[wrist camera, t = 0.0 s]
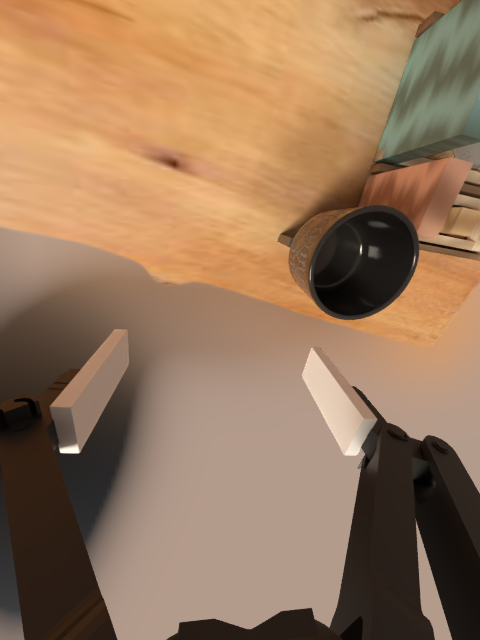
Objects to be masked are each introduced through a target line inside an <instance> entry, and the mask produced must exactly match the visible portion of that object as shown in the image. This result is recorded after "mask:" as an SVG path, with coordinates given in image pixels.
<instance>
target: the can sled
mask: <svg viewBox="0 0 480 640" xmlns="http://www.w3.org/2000/svg"><path fill="white" fill-rule="evenodd" d="M478 142H480V0H462V1H460V2H459V3H458V4H457V5H456V6H455V7H453V8H452V9H451V10H450V11H449V12H448V13H446V14H445V15H444V16H443V17H442V18H441V19H439V20H438V21H437V22H436V23H435V24H434V25H432V26H431V27H430V28H429V29H428V30H426V31H425V32H424V33H423V34H422V35H421V36H419V37H418V38H417V39H416V40H415V41H414V44H413V47H412V50H411V53H410V56H409V59H408V62H407V65H406V68H405V71H404V74H403V77H402V79H401V82H400V85H399V88H398V91H397V94H396V97H395V100H394V103H393V106H392V109H391V112H390V115H389V118H388V120H387V123H386V126H385V129H384V132H383V135H382V138H381V141H380V144H379V147H378V150H377V153H376V156H375V159H374V161H373V162H376V163H385V164H389V165H393V166H397V167H401V168H406V167H410V166H414V165H419V164H423V163H427V162H432V161H435V160H432V159H428V158H424V157H425V156H429V155H433V154H437V153H441V152H444V151H448V150H452V149H456V148H459V147H463V146H467V145H471V144H475V143H478ZM464 183H465V184H469V185H473V186H477V187H480V172H477V171H473V170H470V172H469V174H468V176H467V178H466V180H465V182H464Z"/></svg>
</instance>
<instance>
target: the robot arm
mask: <svg viewBox="0 0 480 640" xmlns="http://www.w3.org/2000/svg"><path fill="white" fill-rule="evenodd" d="M128 365H129V355H128V331H127V330H120V329H115V330H114V331H113V332H112V333H111V335H110V336H109V337H108V338H107V339H106V340H105V342H104V343H103V344H102V345H101V346H100V347H99V349H98V350H97V351H96V352H95V353H94V355H93V356H92V357H91V358H90V359H89V360H88V362H87V363H86V364H85V365H84V366H83V368H82V369H69V370H68V371H66V372H64V373H63V374H61V375H60V376H59V377H58V378H57V379H56V380H55V381H54V382H53V384H51V385H50V386H49V387H48V389H47V390H46V391H45V392H44V393H43V394H42V395H41V396H40V397H39V398H38V399H37V398H36V397H33V396H20V397H15V398H12V399H9V400H7V401H5V402H3V403H1V404H0V481H1V480H3V484H4V491H5V499H6V506H7V513H8V521H9V528H10V536H11V543H12V551H13V558H14V565H15V572H16V580H17V587H18V594H19V602H20V609H21V616H22V624H23V632H24V638H25V640H117V637H116V634H115V631H114V628H113V625H112V622H111V619H110V616H109V613H108V610H107V607H106V605H105V602H104V599H103V597H102V595H101V592H100V589H99V587H98V583H97V581H96V577H95V574H94V571H93V568H92V565H91V562H90V559H89V556H88V553H87V550H86V547H85V544H84V541H83V538H82V535H81V532H80V529H79V525H78V522H77V519H76V517H75V513H74V511H73V507H72V504H71V501H70V498H69V495H68V492H67V489H66V486H65V483H64V480H63V477H62V474H61V471H60V468H59V465H58V462H57V459H56V455H55V452H54V450H55V448H56V447H57V446H58V445H59V449H60V452H61V453H80V451H81V449H82V447H83V446H84V444H85V442H86V440H87V439H88V437H89V435H90V433H91V431H92V429H93V428H94V426H95V424H96V422H97V421H98V419H99V417H100V415H101V413H102V412H103V410H104V408H105V406H106V404H107V403H108V401H109V399H110V397H111V396H112V394H113V392H114V390H115V388H116V386H117V385H118V383H119V381H120V379H121V377H122V376H123V373H124V372H125V370H126V369H127V367H128ZM302 378H303V380H304V381H305V383H306V385H307V387H308V389H309V391H310V393H311V394H312V396H313V398H314V400H315V402H316V404H317V406H318V407H319V409H320V411H321V413H322V415H323V416H324V419H325V420H326V422H327V424H328V426H329V428H330V430H331V431H332V433H333V435H334V437H335V439H336V441H337V443H338V445H339V446H340V448H341V450H342V452H343V454H344V455H357V454H358V453H359V451H360V449H361V448H362V449H363V451H364V453H365V456H364V458H363V459H362V461H361V462H360V464H359V466H358V469H360V468H361V472H360V478H359V484H358V490H357V496H356V502H355V507H354V513H353V519H352V525H351V531H350V537H349V543H348V549H347V554H346V560H345V566H344V572H343V578H342V584H341V589H340V595H339V601H338V605H337V608H336V611H335V614H334V617H333V619H332V622H331V626H330V628H328V627H327V626H326V625H324V624H322V623H321V622H319V621H317V620H315V619H314V615H313V611H312V608H307V609H299V610H289V611H282V612H280V613H278V614H276V615H275V616H273V617H271V618H270V619H268V620H266V621H265V622H263V623H262V624H260V625H258V626H256V627H255V628H253V629H244V628H241V627H238V626H235V625H232V624H229V623H226V622H223V621H220V620H216V619H208V620H198V621H189V622H181V623H179V629H178V633H177V634H175V635H173V636H171V637H169V638H168V639H167V640H435V638H434V632H433V628H432V625H431V623H430V621H429V620H428V619H427V618H426V617H425V616H424V615H423V613H422V610H421V602H420V585H419V568H418V552H417V535H416V521H417V525H418V528H419V531H420V534H421V538H422V541H423V544H424V548H425V551H426V554H427V558H428V560H429V564H430V567H431V570H432V574H433V577H434V581H435V584H436V587H437V590H438V594H439V597H440V600H441V604H442V607H443V610H444V614H445V617H446V620H447V623H448V627H449V630H450V633H451V637H452V640H480V493H479V492H478V490H477V488H476V487H475V485H474V483H473V481H472V480H471V478H470V476H469V474H468V473H467V471H466V469H465V467H464V466H463V464H462V462H461V461H460V459H459V457H458V455H457V454H456V452H455V451H454V450H453V448H452V447H451V446H450V445H448V444H447V443H446V442H445V441H443V440H441V439H439V438H437V437H435V436H430V435H428V436H426V437H425V439H424V440H423V441H420V440H416V439H413V438H410V437H409V436H408V435H407V433H406V432H404V431H403V430H402V429H401V428H399V427H398V426H396V425H393V424H390V423H387V422H386V421H385V419H384V418H383V417H382V416H381V414H380V413H379V412H378V411H377V410H376V408H375V407H374V406H373V405H372V404H371V402H370V401H369V400H367V398H366V396H365V395H364V394H363V393H362V392H361V391H360V390H359V389H357V388H356V387H354V386H351V385H350V384H349V383H348V381H347V380H346V379H345V378H344V376H343V375H342V374H341V373H340V371H339V370H338V369H337V367H336V366H335V365H334V364H333V362H332V361H331V360H330V359H329V357H328V356H327V355H326V354H325V352H324V351H323V350H322V349H321V348H316V347H312V348H311V351H310V354H309V356H308V360H307V362H306V365H305V368H304V371H303V374H302ZM415 518H416V519H415Z"/></svg>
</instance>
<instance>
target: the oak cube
mask: <svg viewBox="0 0 480 640" xmlns="http://www.w3.org/2000/svg"><path fill="white" fill-rule="evenodd" d="M479 217H480V211H477V210H473V209H468V208H464V207H452V208H451V210H450V212H449V214H448V216H447V218H446V220H445V222H444V224H443V226H442V228H441V230H440V232H439V233H443V234H448V235H457V236H468V237H469V236H470V234H471V232H472V230H473V228H474V226H475V225H476V223H477V221H478V219H479Z"/></svg>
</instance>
